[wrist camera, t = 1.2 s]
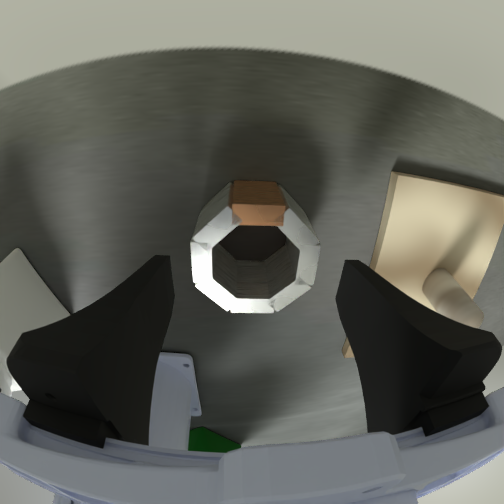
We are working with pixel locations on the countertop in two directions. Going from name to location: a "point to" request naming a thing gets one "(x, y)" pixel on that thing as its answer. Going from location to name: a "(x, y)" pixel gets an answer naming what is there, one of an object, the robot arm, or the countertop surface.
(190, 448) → the milk carton
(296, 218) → the collar
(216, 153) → the countertop surface
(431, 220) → the duct board
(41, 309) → the medicine bottle
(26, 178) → the countertop surface
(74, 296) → the countertop surface
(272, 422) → the countertop surface
